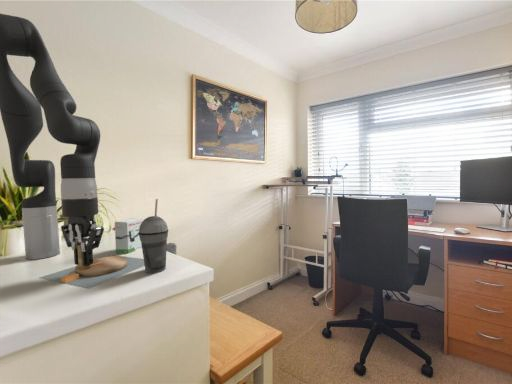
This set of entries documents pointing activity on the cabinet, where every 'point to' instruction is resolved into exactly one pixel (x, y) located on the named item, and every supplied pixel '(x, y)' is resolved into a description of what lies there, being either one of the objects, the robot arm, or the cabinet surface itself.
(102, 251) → the cabinet surface
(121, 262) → the dial
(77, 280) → the board
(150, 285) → the cabinet surface
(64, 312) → the cabinet surface
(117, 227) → the ink box
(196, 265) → the cabinet surface
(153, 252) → the beverage cup
